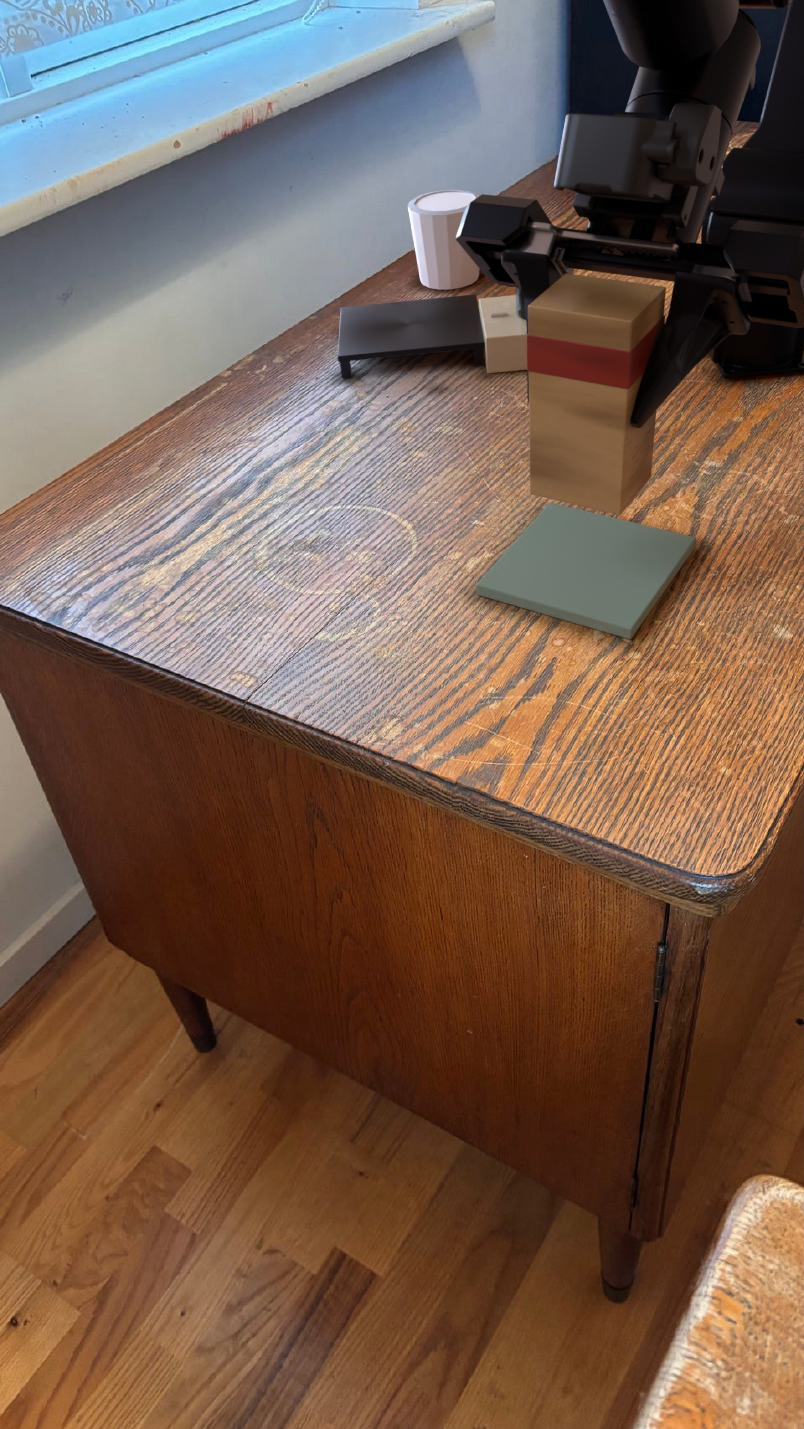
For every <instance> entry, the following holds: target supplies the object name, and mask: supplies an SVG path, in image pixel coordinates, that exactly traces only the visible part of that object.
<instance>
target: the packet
mask: <svg viewBox="0 0 804 1429" xmlns="http://www.w3.org/2000/svg"><path fill="white" fill-rule="evenodd" d="M666 293H667V288H666V286H662V285H655V284H648V283H639V282H633V281H624V280H617V279H611V278H603V277H595V276H589V275H588V276H587V275H582V274H581V275H580V274H574V273H572V274H564V275H563V276H562V277H561V278H560V279H559V280H557V281H556V282H555V283H554V284H553V285H552V286H550V287H549V288H548V289H547V290H546V291H545V292H543V293H542V294H541V295H540V296H539V297H538V298H536V299H535V300H534V301H533V302H532V303H531V304H529V305H528V334H527V370H526V372H527V371H529V402H528V416H529V417H528V419H529V420H528V421H529V422H528V423H529V424H528V427H529V428H528V429H529V430H528V431H529V433H528V434H529V435H528V436H529V437H528V438H529V494H530V495H533V496H536V497H539V498H540V497H541V498H544V499H549V500H553V501H558V502H562V503H566V504H569V505H575V506H579V507H582V508H586V509H591V510H595V511H599V512H604V513H607V514H613V515H617V516H621V515H622V514H623V513H624V512H625V510H627V508H628V507H629V506H630V505H631V503H632V502H633V501H634V499H635V498H636V497H637V495H638V494H639V493H640V492H641V491H642V489H643V488H644V487H645V486H646V484H647V483H648V482H649V480H651V478H652V472H653V459H654V446H655V435H656V434H655V433H656V420H657V410H656V411H655V412H654V414H653V415H652V416H651V417H650V418H649V419H648V421H647V422H646V423H645V424H644V425H643V426H642V427H641V428H635V427H633V426H632V424H631V422H630V420H631V415H632V411H633V408H634V404H635V400H636V397H637V393H638V389H639V386H640V384H641V381H642V379H643V376H644V374H645V371H646V369H647V366H648V364H649V362H650V359H651V357H652V354H653V352H654V349H655V347H656V344H657V342H658V339H659V337H660V334H661V332H662V329H663V327H664V324H665V322H666V315H665V308H666V307H665V306H666Z"/></svg>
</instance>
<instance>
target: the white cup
mask: <svg viewBox="0 0 804 1429" xmlns="http://www.w3.org/2000/svg"><path fill="white" fill-rule="evenodd" d="M480 195H481V194H479V193H477V192H474V191H472V190H465V189H442V190H436V191H430V192H426V193H424V194H420V195H417V196H416V197H414V198H413V199H411V200H410V201H409V203H408V204H407V211H408V216H409V221H410V228H411V234H412V240H413V245H414V251H415V252H414V253H415V257H416V263H417V270H418V275H419V281H420V283H421V285H422V286H424V287H426V288H429V289H432V290H433V289H434V290H439V291H442V290H456V289H460V288H461V289H462V288H465V287H468V286H470V285H473V284H474V283H475V282H476V281H478V280H479V276H480V269H479V267H478V266H477V265H476V264H475V262H474V261H473V260H472V259H471V258H470V256H469V255H468V254H467V253H466V251H465V250H464V249H463V248H462V247H461V245H460V244H459V243H458V242H457V241H456V235H457V232H458V229H459V226H460V223H461V220H462V216H463V213H464V210H465V209H466V208H467V206H468V205H469V204H470V202H472V201H473V200H474V199H476V198H477V197H479V196H480Z"/></svg>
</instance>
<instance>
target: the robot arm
mask: <svg viewBox="0 0 804 1429" xmlns="http://www.w3.org/2000/svg"><path fill="white" fill-rule="evenodd" d="M602 1H603V4H604V6H605V8H606V11H607V15H608V16H609V17H608V18H609V19H610V21H611V24H612V27H613V30H614V31H615V35H616V37H617V40H618V42H619V45H620V47H621V50H622V53H624V55H625V56H626V57H627V58H628V59H629V61H631V62H632V63H634V64H635V65H637V66H638V67H639V68H638V70H637V73H636V77H635V79H634V83H633V86H632V89H631V92H630V95H629V98H628V102H627V104H626V107H625V111H618V110H617V111H616V110H615V111H614V112H613V114H612V115H610V114H609V115H608V114H594V113H593V114H592V113H591V114H590V113H568V114H566V115H565V117H564V118H565V119H564V123H563V130H562V136H561V142H560V147H559V153H558V157H557V158H558V159H557V165H556V170H555V177H554V182H553V189H555V190H557V191H564V190H565V189H567V190H569V191H571V192H574V193H575V195H574V199H573V202H572V207H573V209H574V212H576V214H577V216H578V217H579V218H586V219H587V220H588V224H587V227H586V230H583V229H575V228H566V227H558V226H557V225H554V224H553V223H552V221H551V220H550V218H549V216H548V215H547V213H546V212H545V210H544V209H543V207H542V205H541V204H540V202H539V201H538V199H535V198H534V199H533V198H523V197H515V196H503V195H494V194H484V193H482V194H479V195H480V196H479V197H477V198H476V199H474V200H473V201H472V202H470V204H469V205H468V206H467V208H466V209H465V210H464V213H463V216H462V220H461V223H460V226H459V229H458V232H457V235H456V241H457V242H458V243H459V244H460V245H461V247H462V248H463V249H464V250H465V251H466V253H467V254H468V255H469V256H470V258H471V259H472V260H473V261H474V262H475V264H476V265H477V266H478V267H479V271H481V272H482V274H483V275H484V276H485V277H486V278H487V280H488V281H490V282H492V283H494V284H497V285H499V286H503V287H510V288H515V289H516V288H520V289H521V291H522V294H523V299H524V307H525V314H526V327H527V334H528V305H529V304H531V303H532V302H533V301H534V300H535V299H536V298H538V297H539V296H540V295H541V294H542V293H543V292H545V291H546V290H547V289H548V288H549V287H550V286H552V285H553V284H554V283H555V282H556V281H557V280H559V279H560V278H561V277H562V276H563V275H564V274H574V270H581V271H590V272H594V273H595V272H596V273H604V274H612V275H618V276H626V277H633V278H634V277H635V278H642V279H649V280H650V279H651V280H656V281H663V282H671V283H673V285H672V292H671V297H670V303H669V309H668V313H667V316H666V318H665V324H664V327H663V329H662V332H661V334H660V337H659V339H658V342H657V344H656V347H655V349H654V352H653V354H652V357H651V359H650V362H649V364H648V366H647V369H646V371H645V374H644V376H643V379H642V381H641V384H640V386H639V389H638V393H637V397H636V400H635V404H634V408H633V411H632V415H631V420H630V422H631V424H632V426H633V427H635V428H641V427H642V426H643V425H644V424H645V423H646V422H647V421H648V419H649V418H650V417H651V416H652V415H653V414H654V412H655V411H656V412H657V411H658V409H659V408H660V407H661V406H662V405H663V403H664V402H665V401H666V400H667V399H668V398H669V396H670V395H671V394H672V393H673V392H674V391H675V389H676V388H678V386H679V385H680V384H681V382H682V381H683V380H684V379H685V378H686V377H687V376H688V375H689V374H690V373H691V372H692V370H693V369H694V368H696V366H698V364H700V363H701V362H702V361H703V360H704V359H705V358H706V357H707V356H709V357H710V359H711V361H712V363H714V364H715V366H716V367H717V370H718V371H719V373H720V375H721V377H722V378H723V379H724V380H727V381H728V380H729V381H730V380H731V381H732V380H741V379H751V378H761V377H772V376H783V375H795V374H804V0H602ZM786 8H787V11H786V15H785V19H784V23H783V27H782V31H781V34H780V39H779V42H778V47H777V51H776V54H775V58H774V63H773V66H772V71H771V76H770V79H769V83H768V87H767V91H766V94H765V99H764V103H763V107H762V110H761V115H760V119H759V122H758V126H757V128H756V129H755V131H754V132H753V133H752V134H751V135H750V137H748V138H747V140H746V141H745V142H744V143H743V145H742V146H741V147H732V148H730V150H729V152H728V149H729V147H730V143H731V140H732V136H733V133H734V131H735V129H736V128H735V127H736V125H737V122H738V118H739V116H740V113H741V109H742V107H743V105H744V100H745V97H746V95H747V92H752V90H753V89H754V88H755V84H756V75H757V67H756V64H757V61H758V59H759V55H760V53H761V52H760V51H761V49H762V45H761V38H760V36H759V33H758V29H757V26H756V24H755V22H754V21H753V19H752V18H751V17H750V16H749V15H748V14H747V13H746V12H745V11H744V10H743V9H760V10H761V9H762V10H763V9H764V10H766V9H767V10H769V9H770V10H772V9H773V10H777V9H786ZM727 152H728V154H727ZM699 236H700V243H699V242H698V239H699ZM526 380H527V381H526V383H527V384H526V386H527V387H526V390H527V392H526V393H527V402H528V403H529V371H527V370H526Z"/></svg>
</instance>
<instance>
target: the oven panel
mask: <svg viewBox="0 0 804 1429" xmlns="http://www.w3.org/2000/svg"><path fill="white" fill-rule="evenodd" d="M478 306H479V312H480V318H481V324H482V329H483V335H484V341H485V348H484V364H485V368H486V373H487V374H496V373H497V374H498V373H506V372H519V371H527V327H526V320H525V319H522V318H520V317H519V316H518V315H517V313H516V294H512V295H503V296H492V297H483V298H478Z"/></svg>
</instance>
